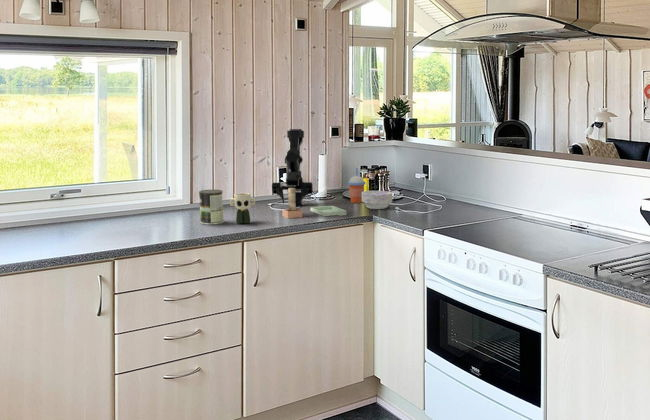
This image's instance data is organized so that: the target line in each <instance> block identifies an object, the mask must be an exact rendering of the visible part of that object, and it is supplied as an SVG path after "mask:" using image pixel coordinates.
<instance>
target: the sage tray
mask: <svg viewBox="0 0 650 420" xmlns="http://www.w3.org/2000/svg"><path fill="white" fill-rule="evenodd" d="M309 209H310V212H312V213H315V214H318V215H320V216H322V217H327V216H329V217H331V216H340V217H342V216H347V210H346V209H342V208H340V207H337V206H334V205H325V206H324V205H323V206H312V207H311V206H310V208H309Z"/></svg>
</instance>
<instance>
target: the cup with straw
mask: <svg viewBox="0 0 650 420" xmlns="http://www.w3.org/2000/svg"><path fill="white" fill-rule="evenodd" d="M358 170H359V169H358V167H355V175H353V176H352V177H350V179H349V181H347V184H348V187H349V188H348V190H349V198H350V203H352V204H360V203H363V202H362V192H364V191H365V185H366V181H365V180H364V178H363V177H362V176H360V175H359V174H358Z"/></svg>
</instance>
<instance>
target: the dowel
mask: <svg viewBox="0 0 650 420" xmlns="http://www.w3.org/2000/svg"><path fill="white" fill-rule="evenodd" d="M287 194H288V195H287V196H288V209H289V212H290V211H296V207H297V206H296V198H295V188H288V190H287Z"/></svg>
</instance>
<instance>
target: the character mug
mask: <svg viewBox="0 0 650 420" xmlns="http://www.w3.org/2000/svg"><path fill="white" fill-rule="evenodd" d="M233 196H234V197H231V198H229V205H230V207H231V206H232V207H233V206H234V208H235V210H236V209H237V211H236V218H235V219H236V220H235V221H236V223H237V224H243V223H244V224H248V223H250V222H251V215H250V210H249V209H251V206H255V205H256V198H255V197H251V193H248V192H238V193H234V194H233ZM233 201H234V202H233ZM251 201H252V202H251Z"/></svg>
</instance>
